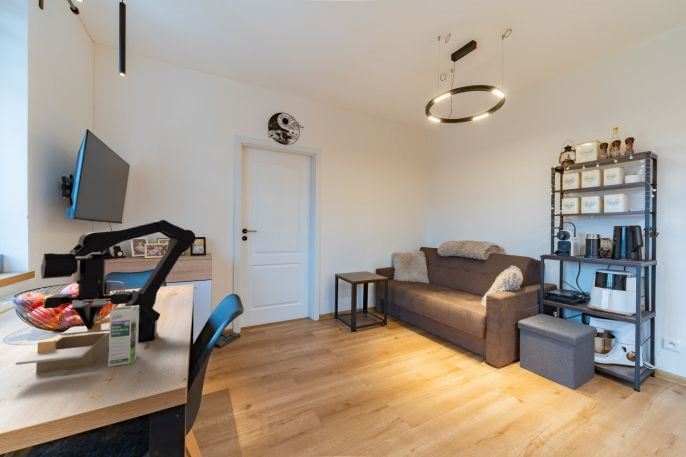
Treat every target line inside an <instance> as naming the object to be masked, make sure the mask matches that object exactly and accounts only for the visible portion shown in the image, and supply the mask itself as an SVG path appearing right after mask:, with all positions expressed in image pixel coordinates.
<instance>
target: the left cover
mask: <svg viewBox="0 0 686 457" xmlns="http://www.w3.org/2000/svg"><path fill="white" fill-rule="evenodd" d="M56 340H57V339H51V340H43V341H42V340H40V341H39V342H37V350H36V351H32V352H29V353H28V354H27V355H26V356H24V357H22V358H21V359H19V360H17V361H16V362H15V365H17V366H18V365H19V366H20V365H26V364H37V362H46V361H55V360H64V359H72V358H81V357H83V356H84V355H85V354H86V353H87V352H88V351H90V350H91V349H92V347H93V346H88V347H78V348H68V349H58V350H55V349H56Z"/></svg>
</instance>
